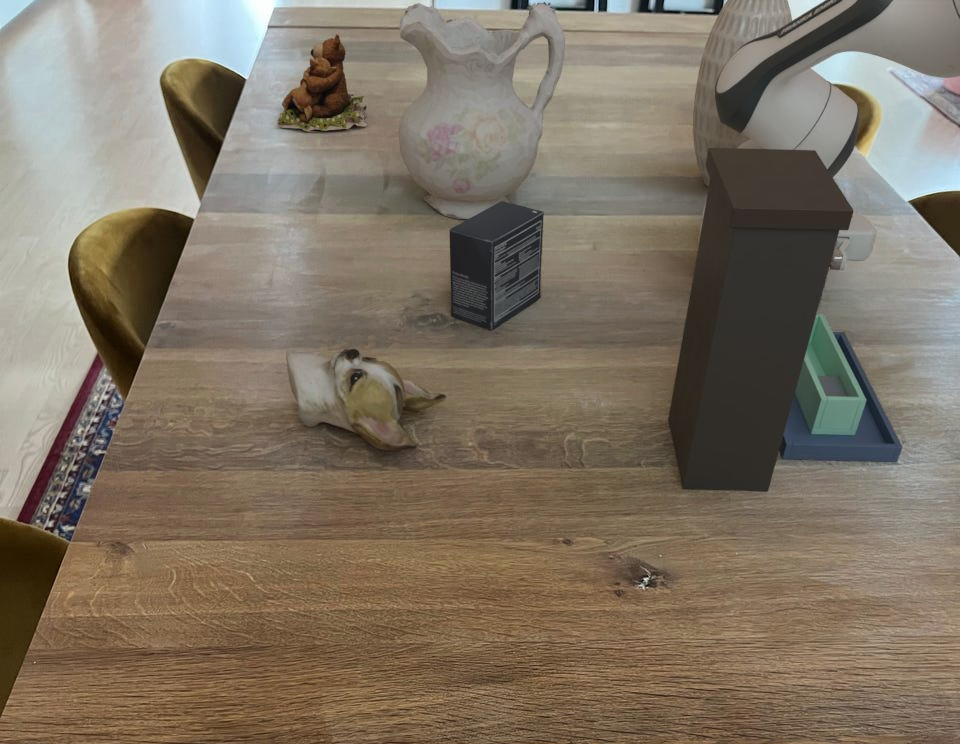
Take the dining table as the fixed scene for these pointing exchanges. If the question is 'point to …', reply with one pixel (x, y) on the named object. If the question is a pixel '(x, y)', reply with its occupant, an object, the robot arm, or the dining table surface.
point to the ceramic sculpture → (356, 396)
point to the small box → (496, 264)
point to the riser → (751, 311)
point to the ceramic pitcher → (474, 108)
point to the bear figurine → (323, 94)
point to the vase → (744, 17)
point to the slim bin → (828, 385)
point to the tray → (866, 445)
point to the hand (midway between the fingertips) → (797, 262)
